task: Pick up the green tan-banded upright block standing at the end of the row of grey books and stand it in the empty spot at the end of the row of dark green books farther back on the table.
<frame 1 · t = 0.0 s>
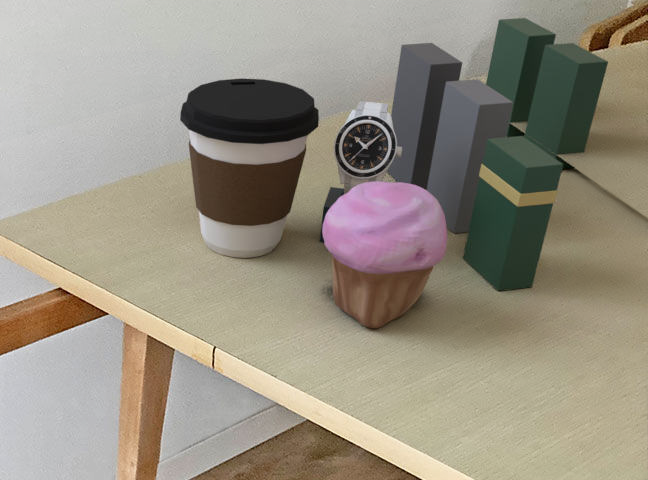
cupcake: (372, 315, 82), on the table
green tan-banded upright block: (496, 272, 87), on the table
watch: (355, 237, 93), on the table
coffee cup: (240, 244, 91), on the table
grey books: (431, 197, 99), on the table
green books: (527, 141, 110), on the table
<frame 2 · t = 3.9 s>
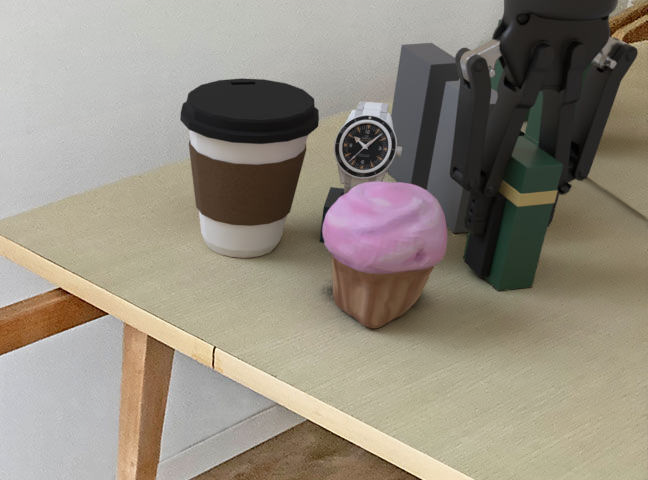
hand: (497, 266, 87), 1 cm above the table, tool pointing down, fingers closed on green tan-banded upright block, 3 cm apart
green tan-banded upright block: (496, 272, 87), on the table, touching gripper
everything else where it was.
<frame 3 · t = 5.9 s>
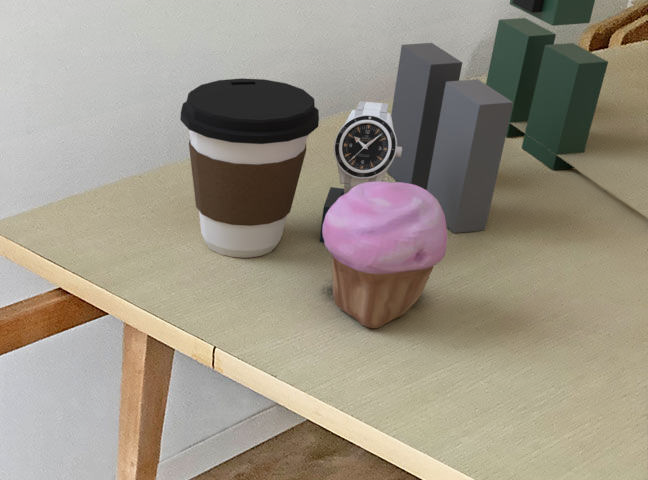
hand: (550, 5, 78), 19 cm above the table, tool pointing down, fingers closed on green tan-banded upright block, 3 cm apart
green tan-banded upright block: (548, 13, 79), point 19 cm above the table, touching gripper
everything else where it was.
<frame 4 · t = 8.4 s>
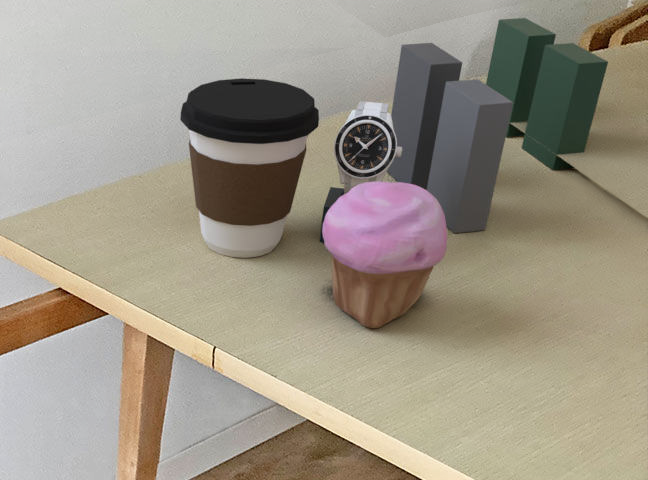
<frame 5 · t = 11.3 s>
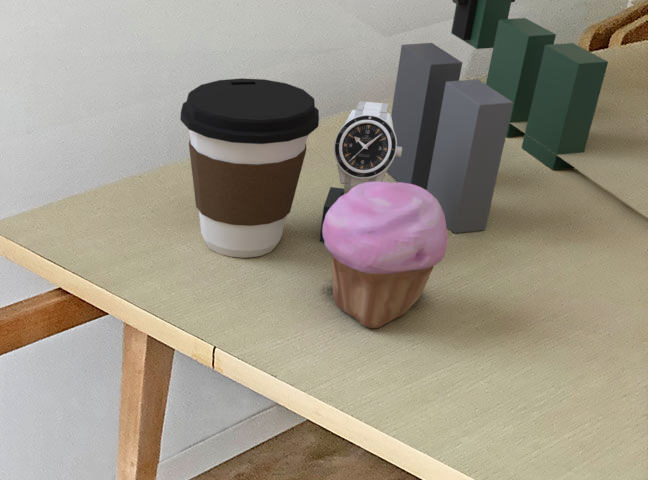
hand: (477, 34, 116), 7 cm above the table, tool pointing down, fingers closed on green tan-banded upright block, 3 cm apart
green tan-banded upright block: (475, 40, 117), point 6 cm above the table, touching gripper
everything else where it was.
when the fingers open (1 cm above the table, at t = 13.0 s): green tan-banded upright block stays where it is, on the table.
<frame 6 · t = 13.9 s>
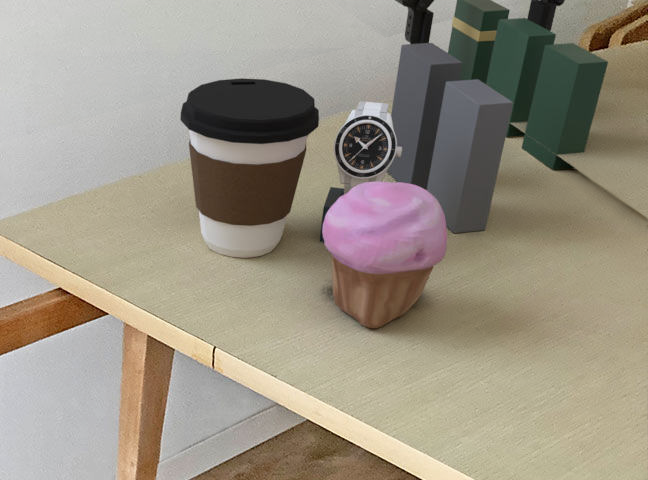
hand: (471, 69, 119), 3 cm above the table, tool pointing down, fingers open, 13 cm apart
green tan-banded upright block: (465, 98, 121), on the table
everything else where it was.
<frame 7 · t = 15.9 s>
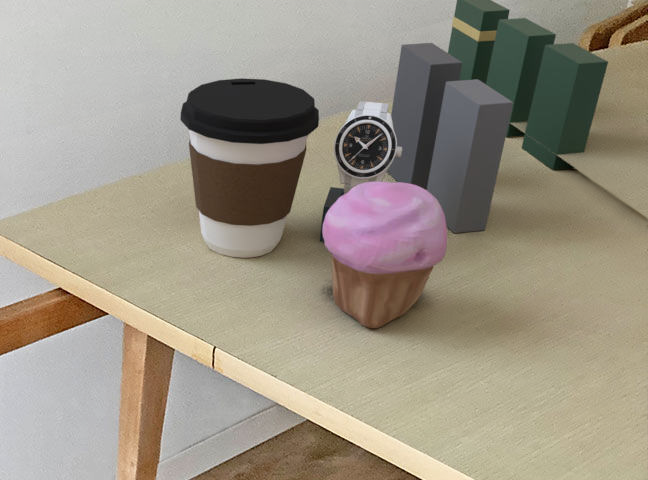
nothing on the table moved.
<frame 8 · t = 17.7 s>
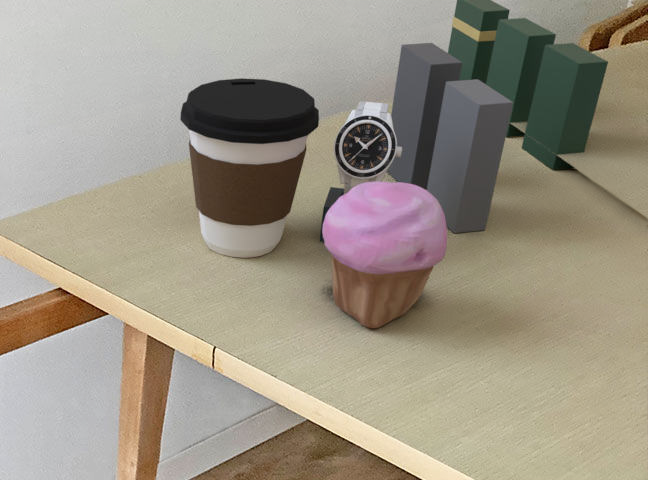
nothing on the table moved.
at the end: green tan-banded upright block 0.2 cm from the target spot on the table beside the green books, on the table; green tan-banded upright block tilted 0°; the gripper is holding nothing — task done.
